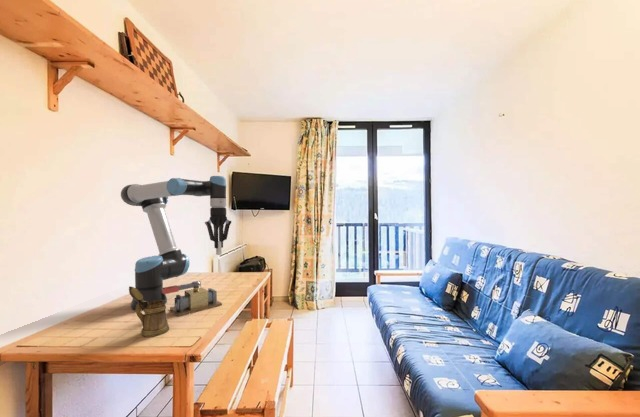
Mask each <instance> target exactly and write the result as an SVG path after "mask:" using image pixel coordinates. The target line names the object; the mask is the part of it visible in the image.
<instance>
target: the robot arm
mask: <svg viewBox="0 0 640 417" xmlns="http://www.w3.org/2000/svg"><path fill="white" fill-rule="evenodd" d="M175 196H177V197H178V196H194V197H209V207H210V208H209V213H210V217H209V220H207V221H204V224H205V226H206V228H207V232H208V236H209V240H210V241H212V242H213V243H214V247H213V248H214V249H215V252H216V253H215V255H216V256H222V249H223V248H224V241H226V240H227V239H228V235H229V229H230V226H231V224H232V220H229V219H228V217H227V208H226V206H227V179H226V177H225V176H224V175H223V176H222V175H210V176H209V180H205V181H204V180H195V179H194V180H193V179H187V178H185V179H184V178H181V177H172V178H169V180H166V181H159V182H154V183H147V184H138V183H132V184H127V185H125V186H123V188H122V189H121V190H120V197H121V200H122V201H123V202H124V203H125V204H126V205H129V206H132V207H135V206H136V207H141V209H142V211H143V212H144V213H146V215H147V216H148V220H149V224H150V227H151V229H152V232H153V236H154V239H155V240H154V241H155V243H156V246H157V249H158V252H159V253H158V255H151V256H146V257H145V256H144V257H141V258H140V259H138V260H137V261H136V262H135V263H134V265H135V266H134V282H135V285H134V286H135V287H134V288H136V289H138V290H139V291H140V292H141V293H142V295H143V299H144V301H148V303H150V302H152V301H157V300H164V304H165V305H166V304H167V303H168V297H167V294H163V293H162V288H164V285H163V282H164V281H166V280H169V279H173V278H178V277H180V276H183V275H185V274H186V273H187V272H188V270H189V268H190V259H189V257H188V255H186V253H185V254H184V253H182V250H181V249H180V248H178V247H177V245H176V242H175V238H174V235H173V232H172V229H171V225H170V222H169V219H168V217H167V213H166V210H165V209H166V207H167V204H168V202H169V200H168V199H169V197H175ZM211 224H212V225H213V228H212V225H211ZM137 303H138V302H137V301H136V300H134V299H133V298H132V299H131V303H130V308H131V310H133V311H134V310H135V311H136V305H137ZM144 309H145V308H142V309H141V311H144Z"/></svg>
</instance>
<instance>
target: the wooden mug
mask: <svg viewBox="0 0 640 417" xmlns="http://www.w3.org/2000/svg"><path fill="white" fill-rule="evenodd" d="M128 292H129V296H131V298H132V299H134V300H136V301H137V302H138V303H137V305H136V310H135V314H136V316H137V318H138V319H139V320H140V322H141V325H142V328H141V332H140V333H141V335H142V336H143V337H147V338H148V337H156V336H160V335H163V334H164V333H167V332H168V331H169V330H170V325H169V322H168V317H167V312H166V311H167V310H166V309H167V306H166V304H164V300H157V301H152V302H150V303H148V301H144V299H143V295H142V293H141V292H140V291H139V290H138V289H136V288H135V287H133V286H129V287H128ZM142 308H145V309H144V310H143V313H142V310H141V309H142Z"/></svg>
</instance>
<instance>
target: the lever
mask: <svg viewBox="0 0 640 417" xmlns="http://www.w3.org/2000/svg"><path fill="white" fill-rule="evenodd" d="M201 282H202V281H200V280H198V281H197V280H196V281H192V282H190V283H185V284H180V285H171V286H170V285H169V286H165V287H163V288H162V293H163V294H166V295H167V294H169V295H170V294H172V293H177V292H180V291H183V290H184V291H185V290H187V289H188V290H189V289H193V288H197V287H199V288H201V286H202V283H201Z"/></svg>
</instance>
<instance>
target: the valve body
mask: <svg viewBox="0 0 640 417" xmlns="http://www.w3.org/2000/svg"><path fill="white" fill-rule="evenodd" d="M217 293H218V292H217V291H216V289H213V288H211V287H210V288H207V289H205V288H204V287H201V286H200V287H197V288H190V289H188V290H187V289H185V290H184V295H180V294H176V295H175V297H174V306H170V307H169V311H171V312H172V313H173V314H174V315H176V316H177V317H181V316H185V315H189V313H190V314H192V313H193V312H194V313H197V312H201V311H204V310H209V309H213V308H216V307H220V306H223V302H221V301H219V300H218V299H217V298H218V296H217V295H218V294H217ZM194 313H193V314H194Z"/></svg>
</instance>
